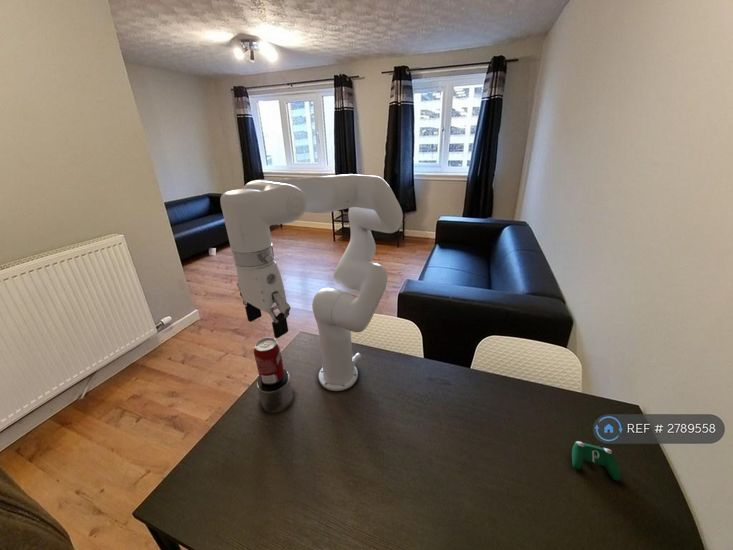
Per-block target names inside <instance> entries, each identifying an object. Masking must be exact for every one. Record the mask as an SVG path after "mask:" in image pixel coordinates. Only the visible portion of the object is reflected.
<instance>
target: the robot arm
mask: <svg viewBox="0 0 733 550" xmlns="http://www.w3.org/2000/svg"><path fill="white" fill-rule="evenodd" d="M396 197H397V196H396V195H395V193H394V191H393V190H392V188H391V187H390V185H389V184H388V182H387V181H386V180H385V179H384V178H382V177H381V176H378V175H365V174H356V173H355V174H353V173H348V174H337V175H336V174H334V175H321V176H320V175H319V176H304V177H288V178H287V177H285V178H283V177H282V178H268V179H267V178H265V179H255V180H251V181H249V182H247V183H246V184H245V185H244V186H243V187H242V188H239V189H232V190H228V191H225V192H224V193H222V194H221V196H220V200H219V201H220V208H221V211H222V215H223V221H224V225H225V229H226V233H227V237H228V242H229V246H230V251H231V256H232V259H233V264H234V266H235V267H236V276H237V281H238V282H237V283H236V286H237V288H238V291H239V296H240V297H241V298H242V300H243V301H242V303H243V306H244V310H245V313H246V314H245V315H246V318H247V322H249V323H252V322H254V321H256V320H258V319H259V318H261V317H262V315H263V314H262V312H265V313H267V314H269V316H270V318H271V319H272V322H271V325H272V326H271V327H272V332H273V338H274V339H279V338H281V337H282V336H284V335H286V334H287V333H288V332H289V326H288V320H287V318H288V316H290V311H291V305H290V304H289V303H288V302H287V295H286V291H285V287H284V283H283V278H282V274H281V271H280V269H279V266H278V263H277V262H276V261H275V260H276V259H275V253H274V248H273V240H272V235H271V229H270V227H271V226H275V225H285V224H290V223H294V222H296V221H298V220H299V219H300V218H301V217H303V215H304V213H312V214H329V213H333V212H336V211H342V210H346V209H348V211H347V212H348V213H347V215H348V223H349V229H350V230H349V231H350V239H349V243H348V244H347V247H346V249H345V251H344V253H343V254H342V256H341V258H340V260H339V261H338V263H337V265H336V268H335V270H334V272H333V281H334V283H335V284H336V285H337V286H338V287H341V288H343V289H346V290H349V291H352V292H355V293H357V294H358V295H355V294H352V293H350V292H347V291H344V290H340V289H337V288H333V287H324V288H320V290H318V291H317V292H316V293H315V295H314V296H313V299H312V304H311V305H312V308H311V310H312V312H313V313H312V314H313V316H314V319H315V321H316V326H317V330H318V337H319V347H320V348H319V349H320V355H321V356H320V357H321V368H320V370H319V371H318V381H319V383H320V385H321V386H322V387H323V388H324V389H327V390H328V391H334V392H339V391H344V390H347V389H349V388H351V387H352V386H353V385H355V384H356V382H357V380H358V377H359V371H358V367H356V364H357V362H358V361H359V360H360V359H361V358H362V354H361V353H360V352H357V353H355V355H354V354H353V347H352V346H353V345H352V344H353V343H352V332H353V333H361V332H363V331H365V330H366V329H367V328H368V326H369V324H370V323H371V321H372V318H373V316H374V315H375V312H376V310H377V308H378V307H379V303H380V302H381V300H382V298H383V296H384V293H385V290H386V288H387V285H388V272H387V269H386V268H385V267H384V266H383V265H382V264H379V263H376V262H373V259H374V257H375V254H376V252H377V245H376V242H375V241H376V240H375V239H374V236H373V234H372V231H374V232H380V233H384V234H385V233H386V234H393V233H395V232H397V231H399V230H400V228H401V227H402V225H403V220H404V215H403V210H402V207H401V205H400V203H399V201H398V199H397V198H396ZM274 304H275V305H274ZM273 305H274V306H273ZM277 310H278V312H279V313H278V314H276V313H275V311H277Z"/></svg>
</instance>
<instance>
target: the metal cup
mask: <svg viewBox="0 0 733 550" xmlns="http://www.w3.org/2000/svg"><path fill="white" fill-rule="evenodd" d="M284 372H285V374H284V377H283V378H282V379H281V380H280V381H279V382H277V383H275V384H270V385H267V384H264V383H262V382H261V381H260V377H259V376H258V377H257V380H256V387H257V391H258V397H259V401H260V403H261V404H260V405H261V407H262V409H263V410H264V411H265V412H267V413H279V412H282V411H284V410H286V409H287V408H288V407H290V405H291V404H292V402H293V400H294V395H293V389H292V383H291V378H290V377H291V376H290V374H289V372H288V371H287V370H286V368H284Z"/></svg>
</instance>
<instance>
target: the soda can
mask: <svg viewBox="0 0 733 550" xmlns="http://www.w3.org/2000/svg"><path fill="white" fill-rule="evenodd" d="M253 356H254V360H255V364H256V368H257V372H258V377H260V381H261V382H262V383H264V384H267V385H270V384H275V383H277V382H279V381H280V380H281V379H282V378H283V377H284V374H285V372H284V369H285V368H284V367H285V366H284V361H283V358H282V351H281V346H280V343H278V341H277V340H276V338H275V337H268V336H267V337H263V338H260V339H259V340H258V341H256V342H255V344H254V349H253Z"/></svg>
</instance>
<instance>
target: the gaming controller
mask: <svg viewBox="0 0 733 550" xmlns="http://www.w3.org/2000/svg"><path fill="white" fill-rule="evenodd" d="M571 460H572V467H573V469H575V470H577V471H580V469H581V468H582V465H583V463H584V462H587V463H591V464H595V465H598V466H602V467H604V468H605V469H606V471H607V473H608V474H609V476H610V477H611V479H613V480H614V481H620V480H621V471H620V468H619V465H618V462H617V460H616V458H615V456H614V453H613V451H612V450H611V449H610V448H606V447H601V446H599V445H594V444H591V443H586V442H582V441H579V440H577V441H575V442H574V444H573V446H572V449H571ZM583 461H584V462H583Z"/></svg>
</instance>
